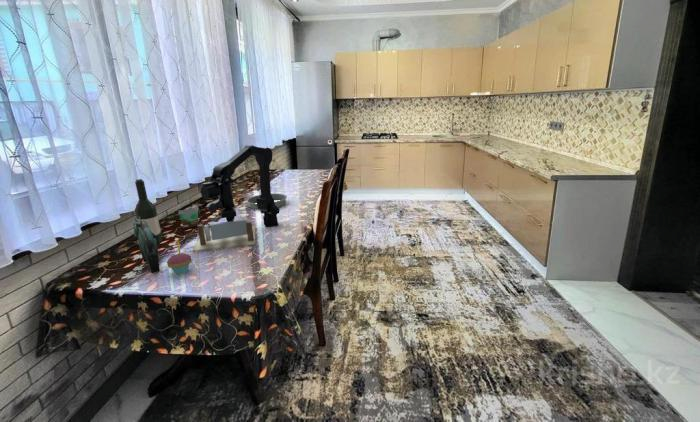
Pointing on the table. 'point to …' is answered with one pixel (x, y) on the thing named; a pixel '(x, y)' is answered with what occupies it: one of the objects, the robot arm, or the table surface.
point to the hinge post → (201, 234)
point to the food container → (189, 216)
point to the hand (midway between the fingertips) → (230, 226)
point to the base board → (225, 242)
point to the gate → (226, 229)
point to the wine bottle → (147, 210)
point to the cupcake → (179, 262)
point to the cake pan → (275, 197)
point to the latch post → (249, 230)
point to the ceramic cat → (147, 244)
